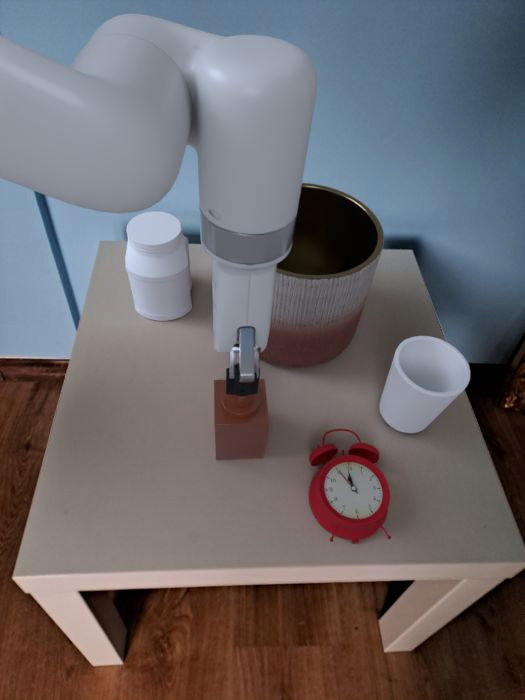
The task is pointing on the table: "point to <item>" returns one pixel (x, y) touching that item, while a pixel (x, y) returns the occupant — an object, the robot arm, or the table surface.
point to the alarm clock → (349, 491)
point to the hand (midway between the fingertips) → (239, 354)
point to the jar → (158, 266)
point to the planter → (323, 278)
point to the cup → (422, 383)
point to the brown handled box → (240, 423)
